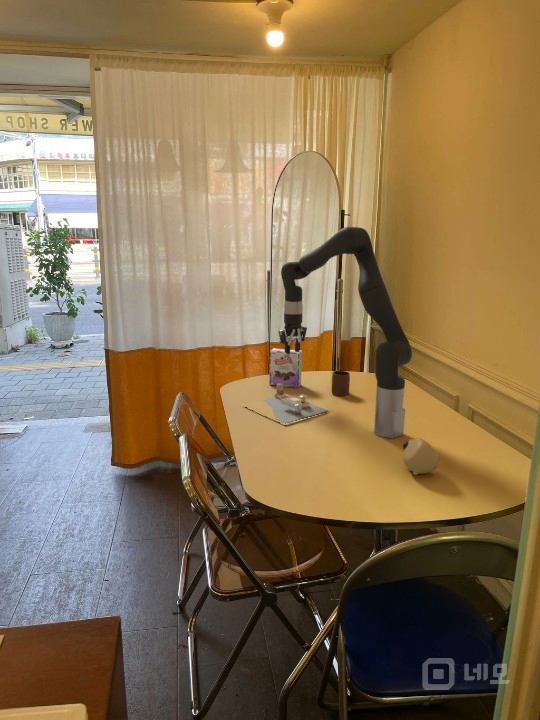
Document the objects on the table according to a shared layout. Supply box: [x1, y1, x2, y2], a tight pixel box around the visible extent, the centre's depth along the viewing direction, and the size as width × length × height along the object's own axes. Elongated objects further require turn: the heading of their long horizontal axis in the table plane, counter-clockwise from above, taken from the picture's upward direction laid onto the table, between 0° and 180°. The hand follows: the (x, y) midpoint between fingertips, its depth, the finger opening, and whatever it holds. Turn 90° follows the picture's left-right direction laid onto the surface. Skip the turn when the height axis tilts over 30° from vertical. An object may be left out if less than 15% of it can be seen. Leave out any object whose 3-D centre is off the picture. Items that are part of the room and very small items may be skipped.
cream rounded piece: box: [402, 437, 440, 476], centre depth 146 cm, size 10×12×11 cm
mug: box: [331, 369, 351, 397], centre depth 218 cm, size 12×8×9 cm, turn 6°
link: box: [274, 383, 310, 408], centre depth 202 cm, size 18×5×6 cm, turn 39°
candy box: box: [268, 347, 303, 389], centre depth 226 cm, size 14×6×16 cm, turn 73°
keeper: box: [281, 394, 308, 415], centre depth 194 cm, size 10×10×4 cm
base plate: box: [260, 392, 329, 424], centre depth 197 cm, size 26×22×1 cm
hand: (292, 352), depth 208 cm, fingers open, 4 cm apart
